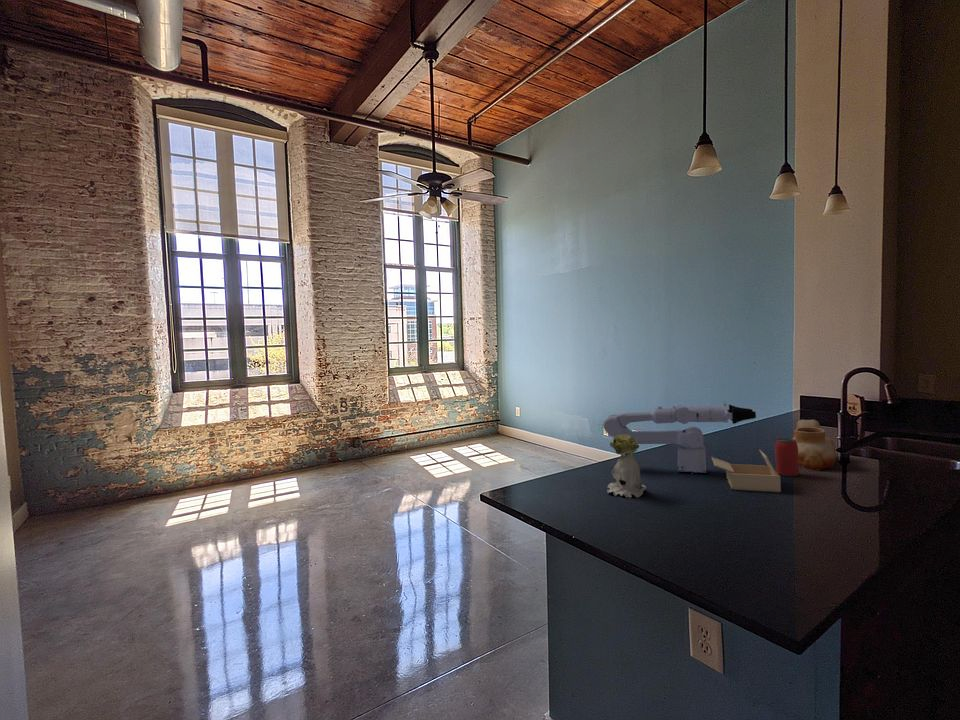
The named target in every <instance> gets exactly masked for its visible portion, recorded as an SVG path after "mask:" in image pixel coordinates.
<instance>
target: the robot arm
mask: <svg viewBox="0 0 960 720" xmlns="http://www.w3.org/2000/svg"><path fill="white" fill-rule="evenodd" d="M756 413H757V412H756V411H754V410H753V409H752V408H746V407H738V406H735V405H732V404H728V406H727V403H726V402H723V403H722V405H705V406H704V405H703V406H700V405H699V406H685V405H678V406H675V405H672V407H662V406H661V405H660V406H658V407H657V408H654V409H652V411H645V412H643V411H642V412H641V411H639V412H638V411H637V412H621V413H618V414H611V415H609V416H608V417H607V418H606V419H605V420H604V422H603V426H602V427H603V430H604V431H605V432H606V434H607V435H608V436H609V437H612V438H614V437H615V436H618V435H623V434H626V435H630V436H632V437H633V439H634V440H635V442H637V444H638V445H661V444H662V445H664V444H665V445H679V446H677V462H676V463H677V464H676V465H677V468H678V467H679V469H678V471H679V470H685V471H693V472H703V471H706V468H707V463H706V459H707V458H706V445H705V444H704V441H705V440H704V439H705V438H704V434H703V431H702V430H701V429H700V428H699V427H697V426H689V427H687V428H683V429H682V428H681V429H676V430H631V429H630V428H629V427H628V426H627V425H629V424H631V423H640V422H651V421H652V422H654V423H655V424H656V425H658V424H660V425H661V424H674V423H677V422H678V423H680V424H683V425H685V424H688V423H729V420H731V422H732V424H733V425H734V424H738V423H740V422H743V421H747V420H754V419H757V414H756ZM681 467H683V468H681Z"/></svg>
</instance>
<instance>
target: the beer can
mask: <svg viewBox="0 0 960 720" xmlns="http://www.w3.org/2000/svg"><path fill="white" fill-rule="evenodd" d="M774 452H775V453H774V454H775V471H776V472H777V473H778V474H780V476H782V475H783V477H797V476H799V474H800V467H799V460H798V445H797V443H796V440H794V439H792V438H786V437H785V438H784V437H781V438H776V442H775V445H774Z"/></svg>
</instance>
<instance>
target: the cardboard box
mask: <svg viewBox="0 0 960 720" xmlns="http://www.w3.org/2000/svg"><path fill="white" fill-rule="evenodd" d="M730 465H731V467H732V469H733V471H734V473H733V472H730V471H727V470H725V473H726V474H725V475H726V479H728V480H727V482H728V485H729V484H730V485H729V486H731V487H730V489H731V490H732V489H734V490H733V491H735V490H736V491H748V492H749V491H750V492H767V493H782V490H781V489H782V488H781V487H782V485H781V475H779V474H778V473H777V472H776V470H775V472H776V475H775V473H774V472H773V471H772V470H771V469H770V468H769V466H768V465H767V464H766V465H764V464H763V465H761V464H741V463H740V464H738V463H730Z"/></svg>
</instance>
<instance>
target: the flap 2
mask: <svg viewBox="0 0 960 720" xmlns="http://www.w3.org/2000/svg"><path fill="white" fill-rule="evenodd" d="M758 451H759V453H760V454H761V457H762V458H763V460H764V461H765V463H766V465H768V466H769V468H770V469H771V470H772V471H773V472H774V473H775V475H776V472H775V471H776V469H775V468H774V466H773V465H772V463H771V461H770V460H769V458H768V456H767V455H766V454H765V453H764V452H763V451H762V450H761V449H758Z"/></svg>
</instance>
